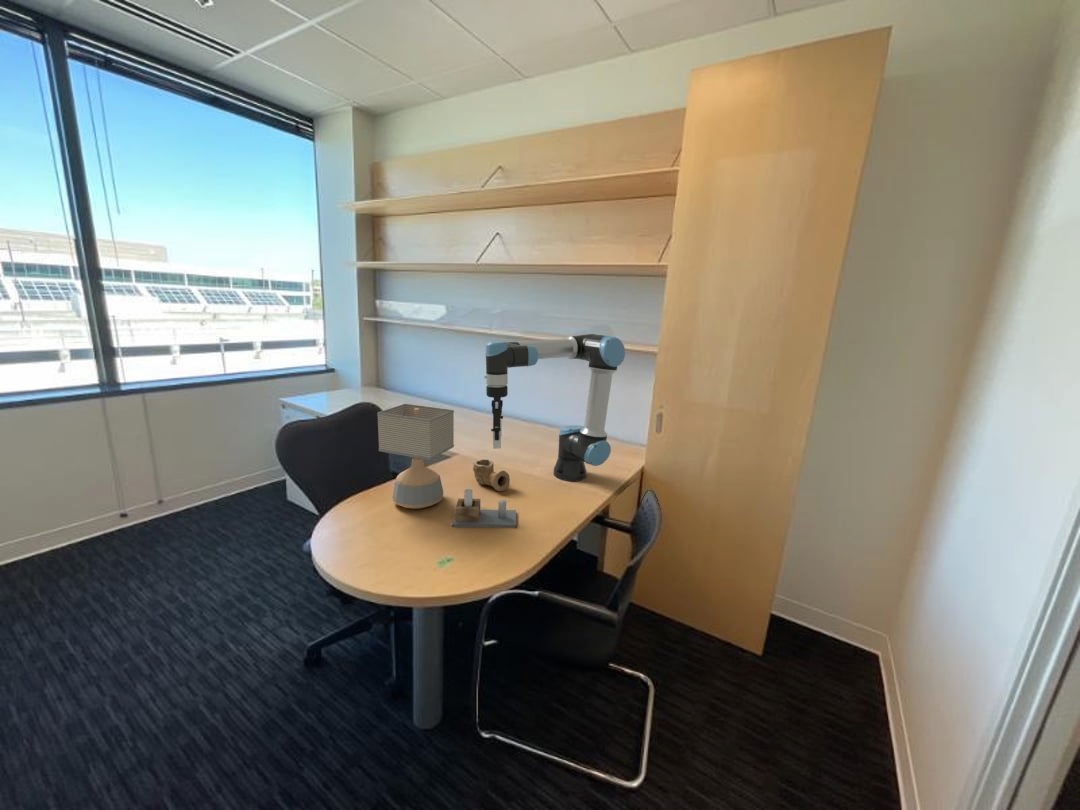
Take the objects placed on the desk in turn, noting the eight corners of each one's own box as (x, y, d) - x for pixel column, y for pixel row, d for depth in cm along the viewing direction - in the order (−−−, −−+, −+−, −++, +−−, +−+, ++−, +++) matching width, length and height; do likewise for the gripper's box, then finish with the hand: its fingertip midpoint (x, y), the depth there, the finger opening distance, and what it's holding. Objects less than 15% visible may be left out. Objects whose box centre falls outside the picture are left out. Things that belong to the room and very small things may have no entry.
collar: (480, 511, 158) (480, 498, 157) (478, 522, 150) (478, 509, 149) (458, 511, 157) (458, 498, 156) (455, 521, 150) (455, 508, 148)
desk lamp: (455, 496, 171) (455, 406, 163) (428, 517, 154) (427, 418, 145) (409, 487, 178) (407, 400, 170) (378, 506, 160) (374, 410, 152)
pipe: (496, 495, 174) (496, 472, 172) (468, 484, 183) (468, 462, 181) (510, 488, 181) (511, 466, 179) (483, 478, 190) (483, 456, 188)
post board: (515, 512, 160) (516, 484, 158) (515, 527, 150) (516, 498, 147) (456, 511, 159) (456, 484, 156) (451, 526, 148) (451, 497, 146)
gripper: (487, 378, 165) (488, 431, 170) (484, 392, 140) (485, 454, 146) (507, 378, 165) (507, 431, 170) (507, 392, 141) (507, 453, 146)
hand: (497, 441), depth 158 cm, fingers open, 13 cm apart
